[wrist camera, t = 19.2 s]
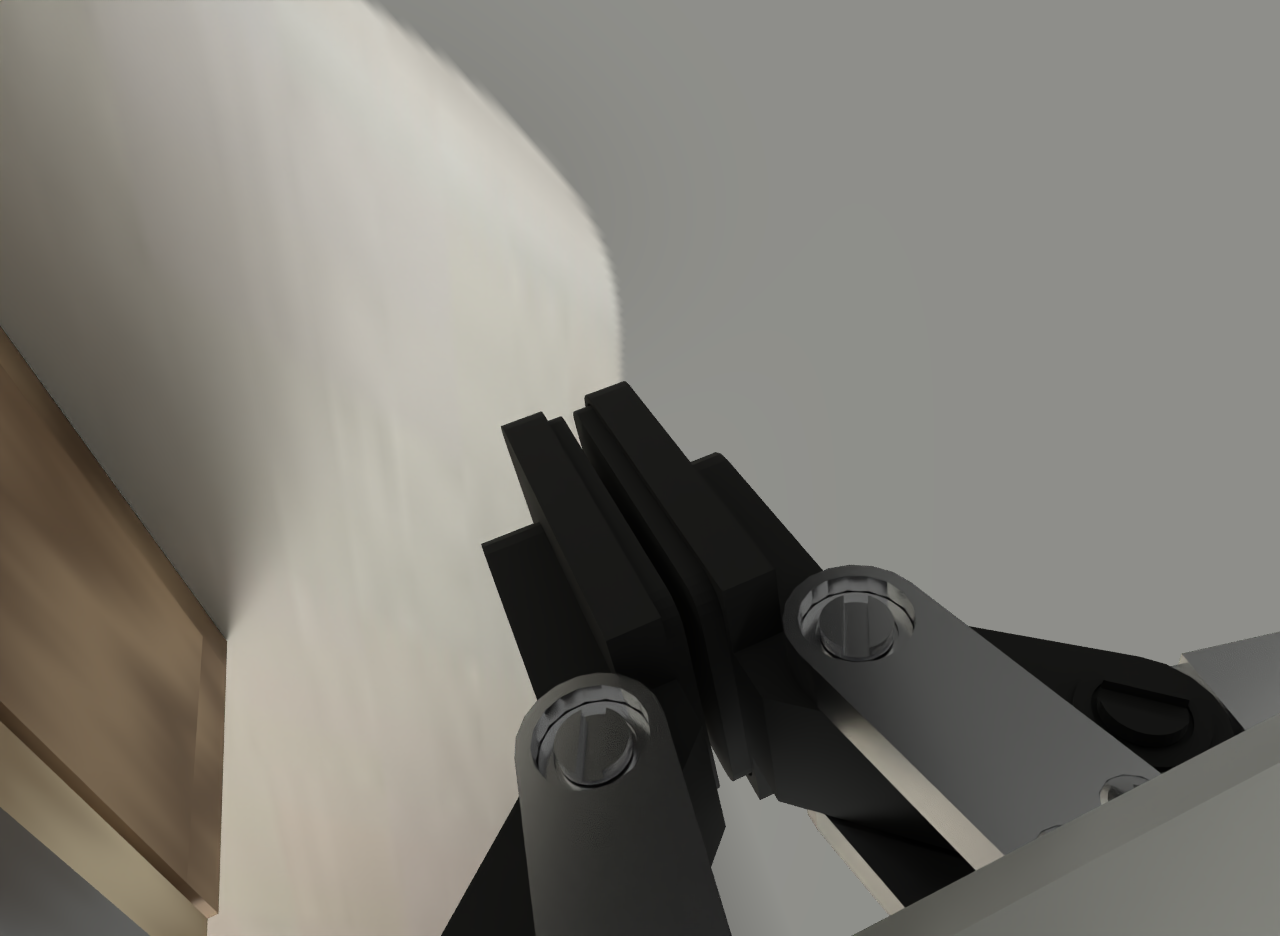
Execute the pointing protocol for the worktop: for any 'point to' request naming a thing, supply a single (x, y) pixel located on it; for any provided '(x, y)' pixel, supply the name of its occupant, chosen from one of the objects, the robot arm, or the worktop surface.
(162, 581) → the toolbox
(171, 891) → the lid
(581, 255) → the worktop surface
